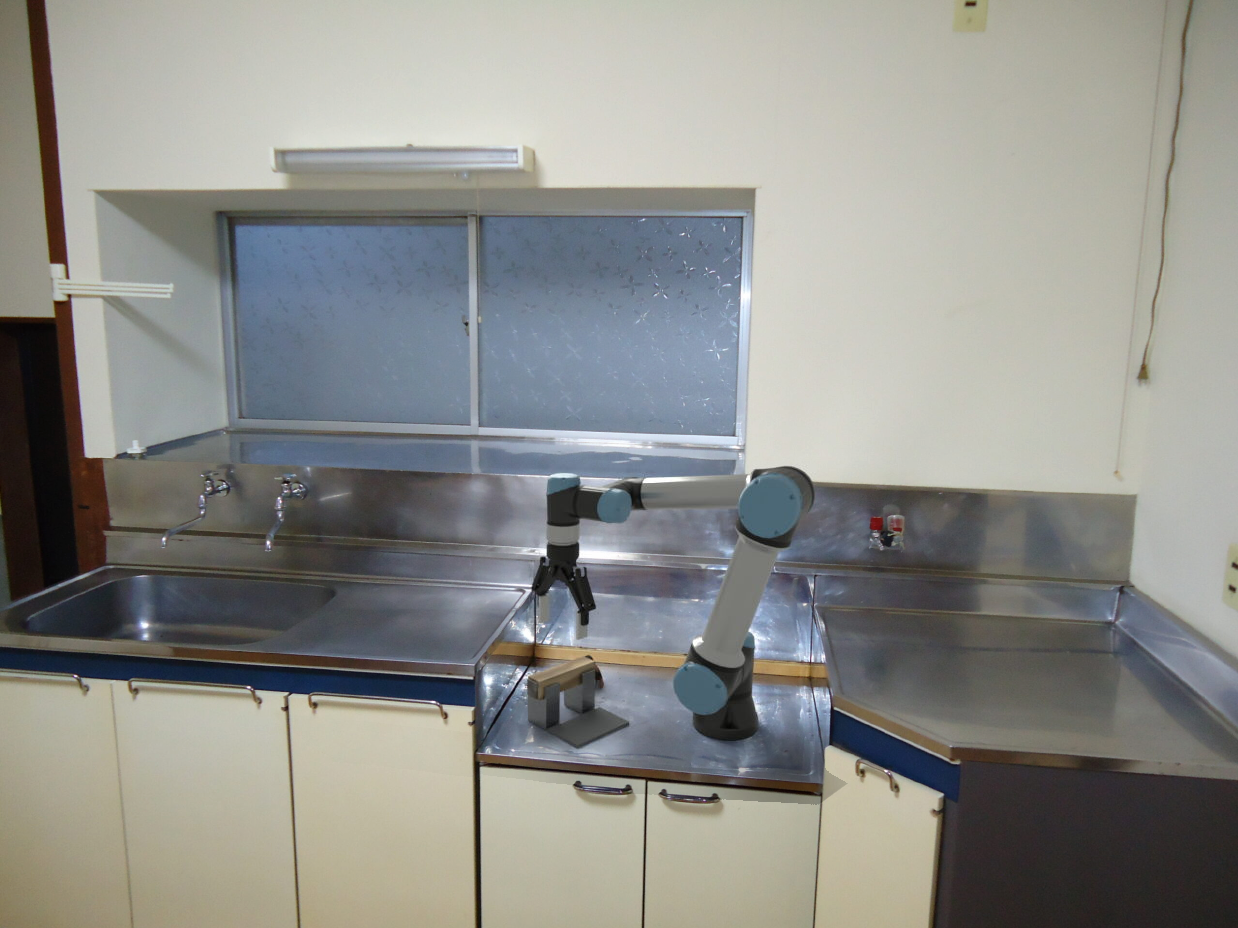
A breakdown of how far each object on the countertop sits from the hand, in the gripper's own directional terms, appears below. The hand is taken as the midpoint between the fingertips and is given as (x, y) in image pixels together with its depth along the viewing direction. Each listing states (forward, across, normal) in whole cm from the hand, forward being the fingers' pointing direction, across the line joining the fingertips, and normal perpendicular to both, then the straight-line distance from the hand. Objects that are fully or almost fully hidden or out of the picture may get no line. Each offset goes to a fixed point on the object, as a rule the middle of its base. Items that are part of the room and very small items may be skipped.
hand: (562, 629), depth 189 cm
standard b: (+21, -1, +6) cm, 22 cm away
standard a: (+21, -1, -5) cm, 21 cm away
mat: (+21, -10, 0) cm, 23 cm away
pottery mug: (+21, +8, -14) cm, 27 cm away
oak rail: (+14, -1, +1) cm, 14 cm away
